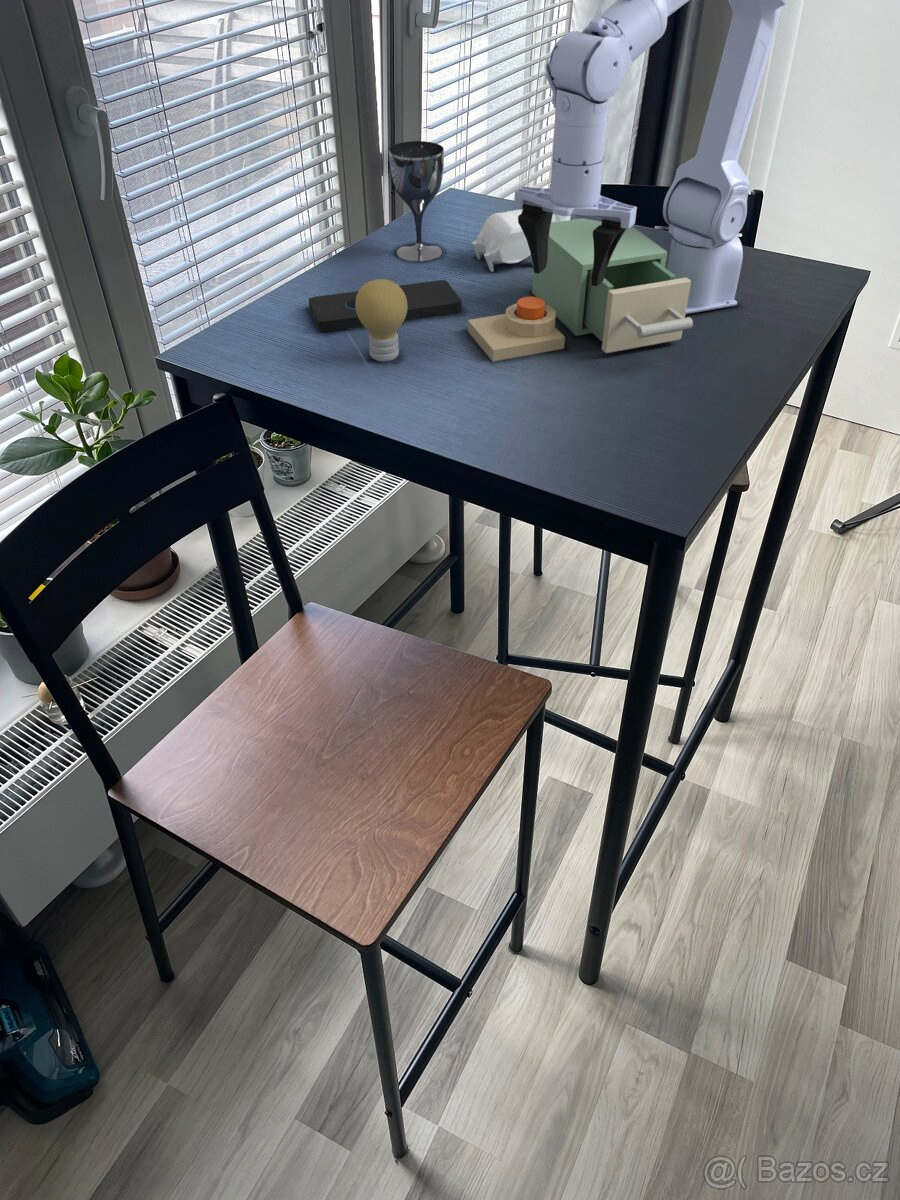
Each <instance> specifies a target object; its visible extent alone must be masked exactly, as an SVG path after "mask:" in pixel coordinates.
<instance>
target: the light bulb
mask: <svg viewBox="0 0 900 1200" xmlns="http://www.w3.org/2000/svg"><path fill="white" fill-rule="evenodd" d="M399 286H400V285H399V284H397V283H396V282H395V281H392V280H391V279H386V278H376V279H373V280H370V281H368V282H366V283H364V284H363V285H362V286H360V288H359V289H358V290H357V291H358V293H357V296H356V304H355V308H356V313H357V316H358V318H359V320H360V321H361V323H362V324H363V326H364V327H363V328H365V329H366V330H367V331H368V332H369V334H368V347H369V355H370V358H372V359H373V360H375V361H377V362H380V363H381V362H382V363H387V362H391V361H393V360H395V359H396V358H397V357H398V356H399V354H400V348H399V345H400V344H399V334H398V332H397V331H398V330H399V328H401V326H402V324H403V323H404V322H405V321H404V319H405V317H406V314H407V307H408V305H407V299H406V296H405V293H404V292H403V290H402V289H401V288H400V287H399Z"/></svg>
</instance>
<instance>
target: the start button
mask: <svg viewBox="0 0 900 1200" xmlns="http://www.w3.org/2000/svg"><path fill="white" fill-rule="evenodd" d="M516 304H517V317H518V318H521V319H524V320H538V319H542V318H543V317H544V313H545V301H544V300H542V299H541V298H537V297H536V296H523V297H521V298H519V299H518V300H517V301H516Z"/></svg>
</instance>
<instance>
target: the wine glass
mask: <svg viewBox="0 0 900 1200" xmlns="http://www.w3.org/2000/svg"><path fill="white" fill-rule="evenodd" d="M388 157H389V159H388V161H389V169H390V176H391V180H392V184H393V187H394V189H395V192H396V194H397V195H398V196H399V197H400V198H401V200H402V201H403V202H404V203H405V204H406V205H407V207H409V209H410V211H411V213H412V215H413V219H414V225H415V234H416V243H409V244H406V245H405V244H404V245H403V246H401V247H399V248H398V249H397V250H396V256H397V257H398V258H400V259H402V260H404V261H408V262H417V263H418V262H421V263H422V262H429V261H433V260H436V259H438V258H440V257H441V256H442V255H443V250H442V248H441V247H439V246H437V245H434V244H431V243H423V241H422V239H423V237H422V227H423V217H424V214H425V211H426V209H427V208H428V206H429V205H430V204H431V202H432V201H433V200H434V198H435V197H436V196H437V195H438V194H439V191H440V190H441V186H442V182H443V176H444V169H445V167H444V166H445V148H444V147H443V146H442V145H441V144H439V143H436V142H432V141H423V140H413V141H403V142H399V143H396V144H393V145H391V146H390V147H389V149H388Z"/></svg>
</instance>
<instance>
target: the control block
mask: <svg viewBox="0 0 900 1200" xmlns="http://www.w3.org/2000/svg"><path fill="white" fill-rule="evenodd" d="M556 320H557V317H556V311H555V310H554V309H553V308H552V307H550V306H548V305H545V313H544V317H543V318H542V319H538V320H524V319H521V318H518V317H517V303H514V304H512V305H509V306H508V307H507V308H506V310H505V313H502V314H497V315H489V316H484V317H477V318H472V319H467V332H468V334H469V335H470V336H471V337H472V338H473V340H474V341H475V342H476V344H478V346H479V347H480V349H482V351H483V352H484V353H485V354H486V356H487V357H488V358H489V359H490V361H492V362H497V361H502V360H509V359H513V358H520V357H526V356H530V355H537V354H542V353H546V352H547V353H548V352H552V351H558V350H564V349H565V342H566V336H565V335H564V334H563V333H562V332H561V331H560V330H559V329H558V328H557V327H556Z"/></svg>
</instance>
